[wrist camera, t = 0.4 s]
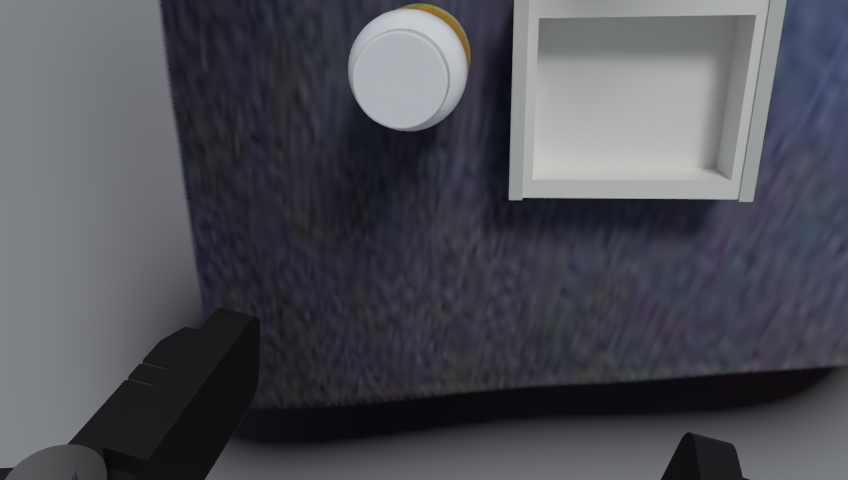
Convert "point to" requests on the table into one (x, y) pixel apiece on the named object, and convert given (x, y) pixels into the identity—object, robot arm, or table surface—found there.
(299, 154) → the table surface
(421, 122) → the supplement bottle
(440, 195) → the table surface
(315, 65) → the table surface
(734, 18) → the crate
